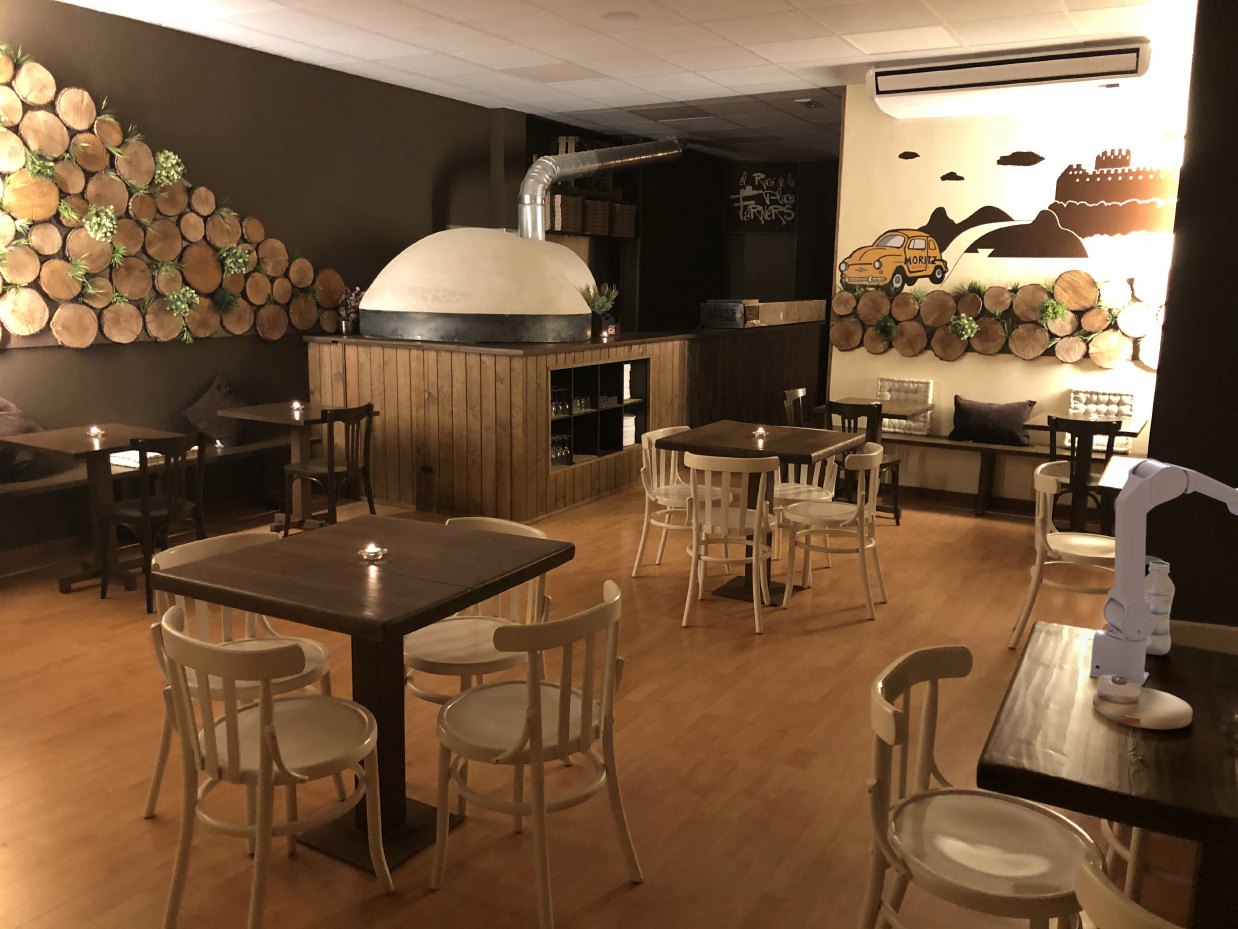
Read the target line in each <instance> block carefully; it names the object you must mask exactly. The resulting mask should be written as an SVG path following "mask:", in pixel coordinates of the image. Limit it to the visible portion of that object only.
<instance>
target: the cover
mask: <svg viewBox="0 0 1238 929" xmlns="http://www.w3.org/2000/svg"><path fill="white" fill-rule="evenodd" d="M1140 687H1141V686H1140V683H1139V682H1138V681H1136V680H1134V679H1132V678H1129V677H1125V676H1120V675H1102V676H1100V677H1098V678H1097V686H1096V690H1097V696H1098V697H1099V698H1101V699H1102V700H1105V701H1107V702H1110V703H1114V704H1120V705H1133V704H1137V703H1138V702H1139V697H1140Z"/></svg>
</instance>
